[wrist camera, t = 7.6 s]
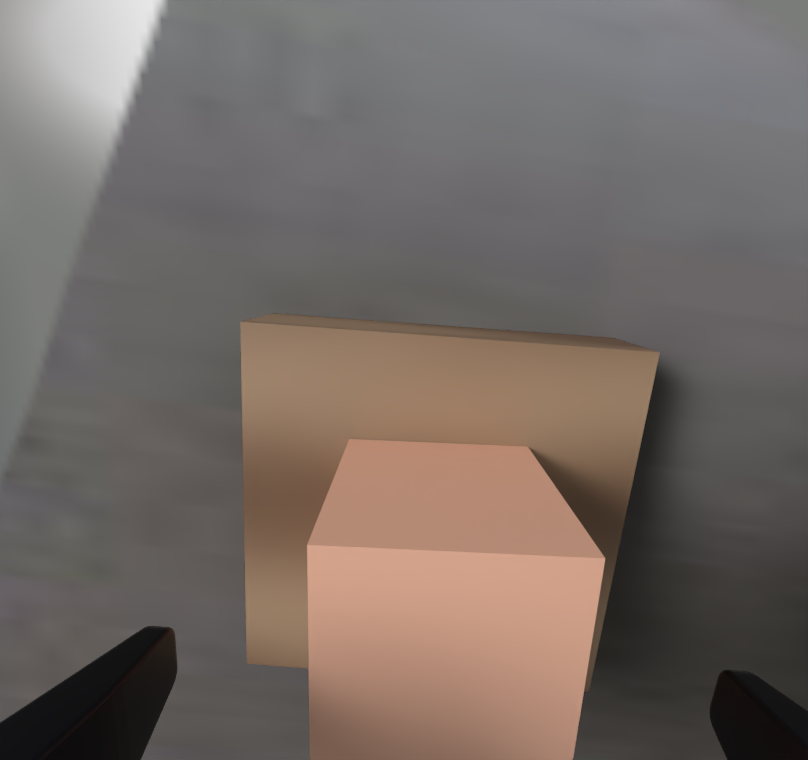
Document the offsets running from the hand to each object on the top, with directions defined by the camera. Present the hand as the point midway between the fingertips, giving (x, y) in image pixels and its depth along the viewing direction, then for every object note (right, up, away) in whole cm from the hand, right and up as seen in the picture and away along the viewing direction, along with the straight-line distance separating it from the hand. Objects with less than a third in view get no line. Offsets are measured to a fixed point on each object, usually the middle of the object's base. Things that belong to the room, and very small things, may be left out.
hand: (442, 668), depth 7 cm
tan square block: (0, +2, +7) cm, 7 cm away
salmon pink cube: (0, +1, +4) cm, 4 cm away
